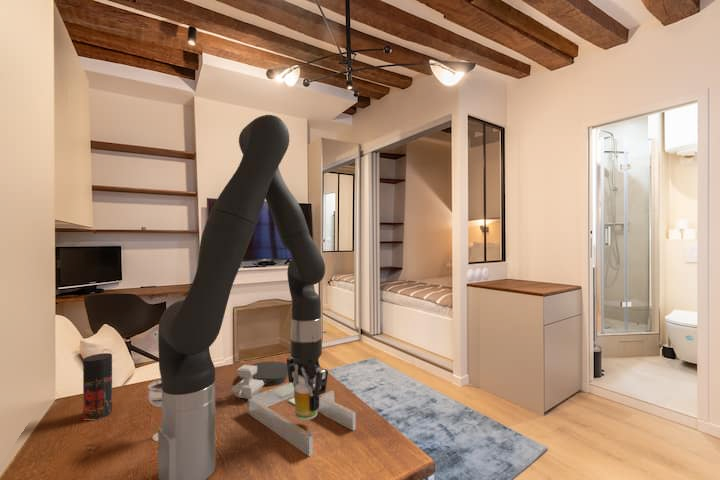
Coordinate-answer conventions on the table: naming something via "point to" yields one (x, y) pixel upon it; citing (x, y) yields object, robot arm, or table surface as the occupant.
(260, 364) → the media streaming box
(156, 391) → the wineglass
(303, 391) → the supplement bottle
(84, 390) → the deodorant
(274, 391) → the channel
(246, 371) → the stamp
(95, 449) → the table surface
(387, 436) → the table surface
